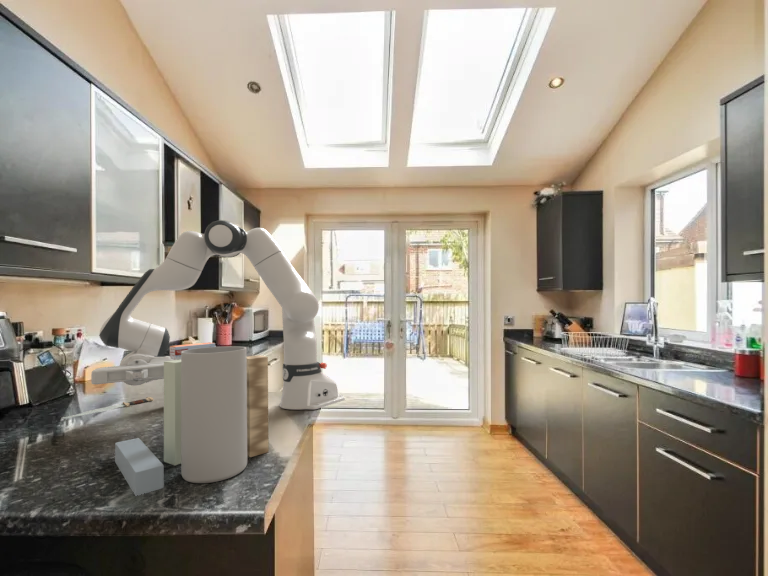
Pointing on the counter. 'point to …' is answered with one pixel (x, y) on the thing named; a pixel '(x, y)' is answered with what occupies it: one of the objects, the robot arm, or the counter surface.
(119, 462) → the post slate
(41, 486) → the counter surface
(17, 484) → the counter surface
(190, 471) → the cylinder vase
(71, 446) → the counter surface
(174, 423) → the post sage
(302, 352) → the robot arm
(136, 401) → the knife
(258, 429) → the post oak
